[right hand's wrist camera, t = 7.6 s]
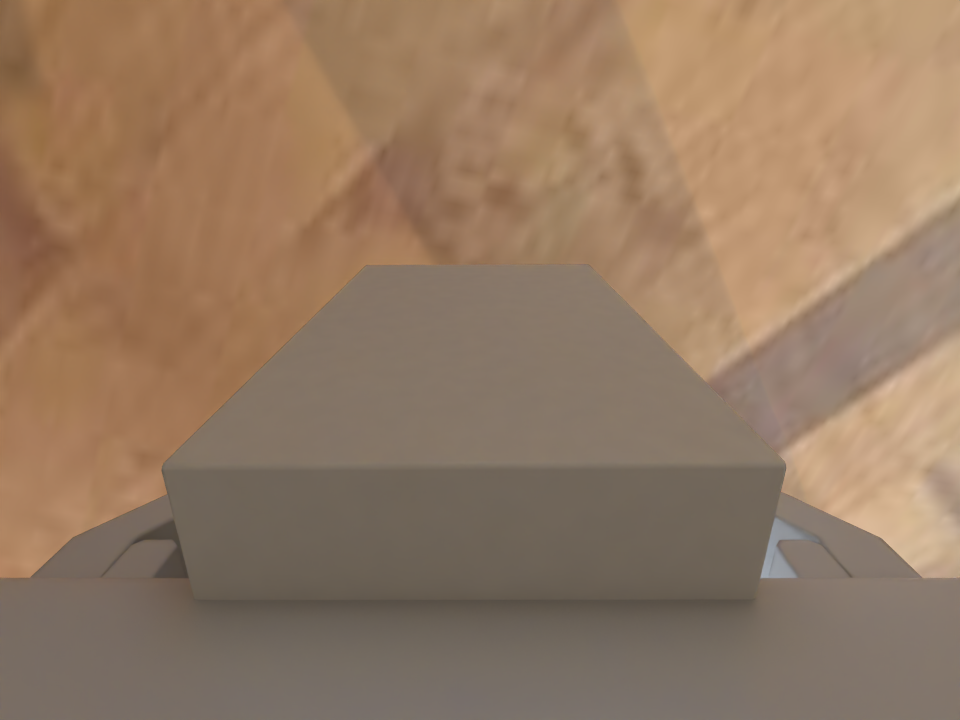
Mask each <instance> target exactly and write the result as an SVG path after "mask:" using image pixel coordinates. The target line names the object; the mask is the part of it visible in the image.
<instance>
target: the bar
mask: <svg viewBox="0 0 960 720" xmlns="http://www.w3.org/2000/svg"><path fill="white" fill-rule="evenodd" d="M785 471H786V464H785V461H784V460H783V459H782V458H781V457H780V456H779V455H778V454H777V453H776V452H775V451H774V450H773V449H772V448H771V447H770V446H769V445H768V444H767V443H766V442H765V441H764V440H763V439H762V438H761V437H760V436H759V435H758V434H757V433H756V432H755V431H754V430H753V429H752V428H751V427H750V426H749V425H748V424H747V423H746V422H745V421H744V420H743V419H742V418H741V417H740V416H739V415H738V414H737V413H736V412H735V411H734V410H733V409H732V408H731V407H730V406H729V405H728V404H727V403H726V402H725V401H724V400H723V399H722V398H721V397H720V396H719V395H718V394H717V393H716V392H715V391H714V390H713V389H712V388H711V387H710V386H709V385H708V384H707V383H706V382H705V381H704V380H703V379H702V378H701V377H700V376H699V375H698V374H697V373H696V372H695V371H694V370H693V369H692V368H691V367H690V366H689V365H688V364H687V363H686V362H685V361H684V360H683V359H682V358H681V357H680V356H679V355H678V354H677V353H676V352H675V351H674V350H673V349H672V348H671V347H670V346H669V345H668V344H667V343H666V342H665V341H664V340H663V339H662V338H661V337H660V336H659V335H658V334H657V333H656V332H655V331H654V330H653V329H652V328H651V327H650V326H649V325H648V324H647V323H646V322H645V321H644V320H643V319H642V318H641V317H640V316H639V315H638V314H637V313H636V312H635V310H634V309H633V308H632V307H631V306H630V305H629V304H628V303H627V302H626V301H625V300H624V299H623V298H622V297H621V296H620V295H619V294H618V293H617V292H616V291H615V290H614V289H613V288H612V287H611V286H610V285H609V284H608V283H607V282H606V281H605V280H604V279H603V278H602V277H601V276H600V275H599V274H598V273H597V272H596V271H595V270H594V269H593V268H592V267H591V266H590V265H588V264H531V265H366V266H365V267H364V268H363V269H362V270H361V271H360V272H359V273H358V274H357V275H356V276H355V277H354V278H353V279H352V280H350V281H349V282H348V283H347V284H346V285H345V286H344V287H343V288H342V289H341V290H340V291H339V292H338V293H337V294H336V295H335V296H334V297H333V298H332V299H331V300H330V301H329V302H328V303H327V304H326V305H325V306H324V307H323V308H322V309H321V310H320V311H319V312H318V313H317V314H316V315H315V316H314V317H313V318H312V319H311V320H310V321H309V322H308V323H307V324H305V325H304V326H303V327H302V328H301V329H300V330H299V331H298V332H297V333H296V334H295V335H294V336H293V337H292V338H291V339H290V340H289V341H288V342H287V343H286V344H285V345H284V346H283V347H282V348H281V349H280V350H279V351H278V352H277V353H276V354H275V355H274V356H273V357H272V358H271V359H270V360H269V361H268V362H267V363H266V364H265V365H264V366H263V367H261V368H260V369H259V370H258V371H257V372H256V373H255V374H254V375H253V376H252V377H251V378H250V379H249V380H248V381H247V382H246V383H245V384H244V385H243V386H242V387H241V388H240V389H239V390H238V391H237V392H236V393H235V394H234V395H233V396H232V397H231V398H230V399H229V400H228V401H227V402H226V403H225V404H224V405H223V406H222V407H221V408H220V409H219V410H218V411H216V412H215V413H214V414H213V415H212V416H211V417H210V418H209V419H208V420H207V421H206V422H205V423H204V424H203V425H202V426H201V427H200V428H199V429H198V430H197V431H196V432H195V433H194V434H193V435H192V436H191V437H190V438H189V439H188V440H187V441H186V442H185V443H184V444H183V445H182V446H181V447H180V448H179V449H178V450H177V451H176V452H175V453H174V454H173V455H171V456H170V457H169V458H168V459H167V460H166V461H165V462H164V463H163V466H162V474H163V478H164V482H165V486H166V490H167V494H168V498H169V502H170V506H171V510H172V514H173V517H174V521H175V525H176V529H177V533H178V537H179V541H180V545H181V549H182V553H183V557H184V561H185V565H186V569H187V573H188V577H189V581H190V585H191V589H192V593H193V597H194V599H196V600H753V599H756V595H757V590H758V586H759V582H760V578H761V573H762V569H763V565H764V561H765V556H766V552H767V548H768V544H769V539H770V535H771V531H772V527H773V522H774V518H775V514H776V510H777V505H778V501H779V497H780V492H781V488H782V484H783V480H784V475H785Z"/></svg>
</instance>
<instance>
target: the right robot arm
mask: <svg viewBox="0 0 960 720" xmlns="http://www.w3.org/2000/svg"><path fill="white" fill-rule="evenodd" d="M0 720H960V578H922V577H921V576H920V575H919V574H918V573H917V572H916V571H915V570H914V569H913V568H912V567H911V566H910V565H908V564H907V563H906V562H905V561H904V560H903V559H902V558H901V557H900V556H899V555H898V554H897V553H896V552H895V551H894V550H893V549H892V548H891V547H890V546H889V545H888V544H887V543H886V542H885V541H884V540H882V539H881V538H880V537H877V536H875V535H873V534H871V533H869V532H867V531H865V530H862V529H860V528H858V527H856V526H854V525H852V524H849V523H847V522H845V521H843V520H841V519H839V518H836V517H834V516H832V515H830V514H828V513H826V512H824V511H821V510H819V509H817V508H815V507H813V506H811V505H808V504H806V503H804V502H802V501H800V500H798V499H795V498H793V497H791V496H789V495H787V494H785V493H783V492H780V497H779V501H778V505H777V510H776V514H775V518H774V522H773V527H772V531H771V535H770V539H769V544H768V548H767V552H766V556H765V561H764V565H763V569H762V573H761V578H760V582H759V586H758V590H757V595H756V599H753V600H196V599H194V597H193V593H192V589H191V585H190V581H189V577H188V573H187V569H186V565H185V561H184V557H183V553H182V549H181V545H180V541H179V537H178V533H177V529H176V525H175V521H174V517H173V514H172V510H171V506H170V502H169V498H168V494H167V495H165V496H162V497H160V498H158V499H156V500H154V501H152V502H149V503H147V504H145V505H143V506H141V507H138V508H136V509H134V510H132V511H130V512H127V513H125V514H123V515H121V516H119V517H117V518H114V519H112V520H110V521H108V522H106V523H103V524H101V525H99V526H97V527H95V528H93V529H90V530H88V531H86V532H84V533H82V534H79V535H77V536H75V537H73V538H72V539H71V540H70V541H69V542H68V543H67V544H65V545H64V546H63V547H62V548H61V549H60V550H59V551H58V552H57V553H56V554H55V555H54V556H53V557H52V558H51V559H49V560H48V561H47V562H46V563H45V564H44V565H43V566H42V567H41V568H40V569H39V570H38V571H37V572H36V573H35V574H34V575H32V576H31V577H30V578H0Z"/></svg>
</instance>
